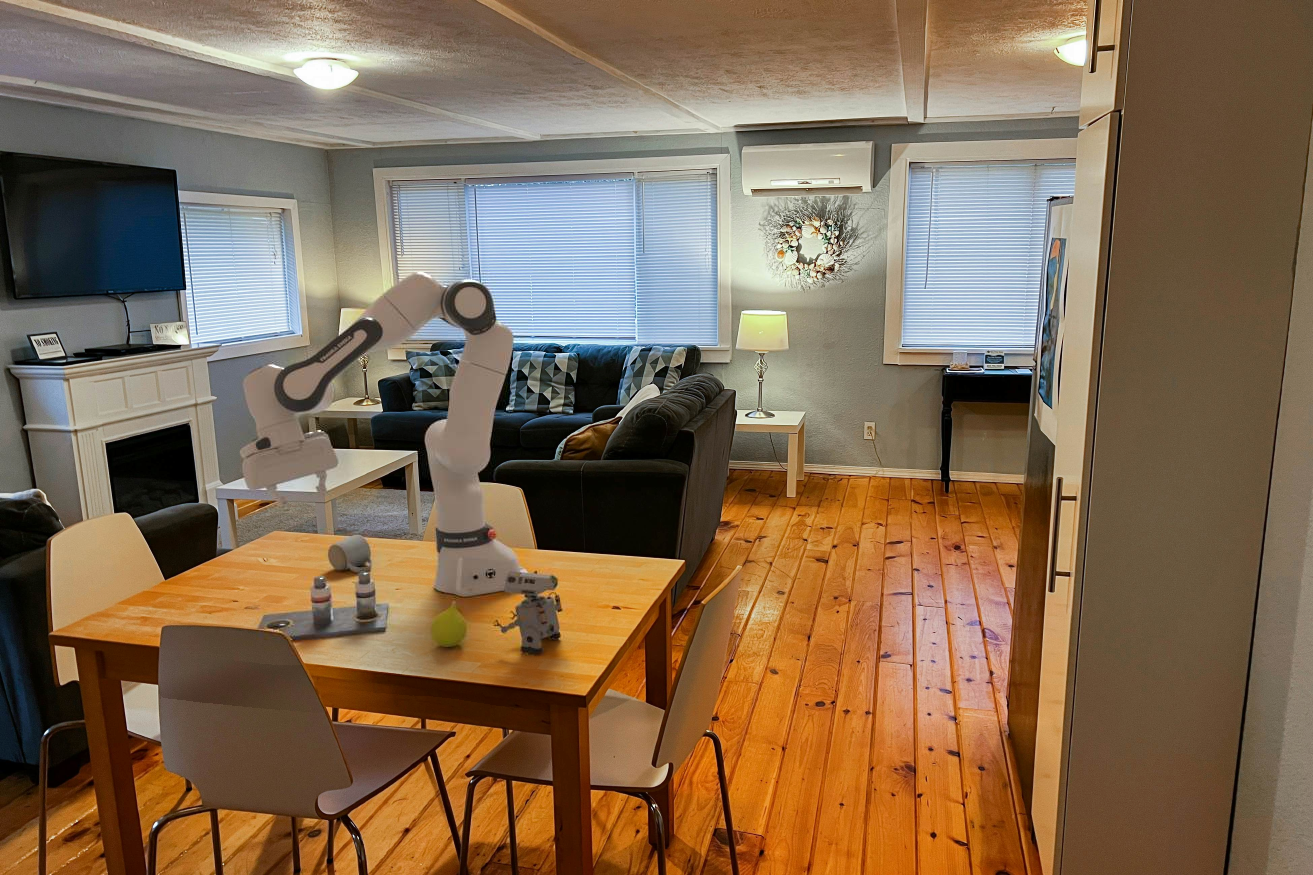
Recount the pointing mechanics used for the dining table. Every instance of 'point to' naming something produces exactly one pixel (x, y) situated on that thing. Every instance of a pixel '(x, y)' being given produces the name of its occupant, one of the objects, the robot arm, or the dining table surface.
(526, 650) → the figurine
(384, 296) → the robot arm
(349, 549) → the ceramic mug
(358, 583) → the dark-banded small bottle
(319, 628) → the plate
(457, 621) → the ornament
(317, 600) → the red-banded small bottle
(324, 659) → the dining table surface
